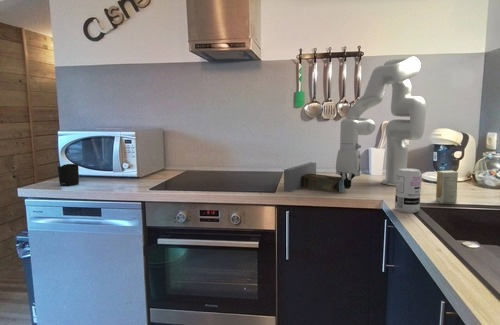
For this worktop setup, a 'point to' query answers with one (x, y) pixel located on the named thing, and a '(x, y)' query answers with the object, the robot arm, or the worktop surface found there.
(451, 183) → the skincare box
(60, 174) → the pen holder
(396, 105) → the robot arm
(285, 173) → the board
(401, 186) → the supplement can
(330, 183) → the beverage carton
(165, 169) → the worktop surface
